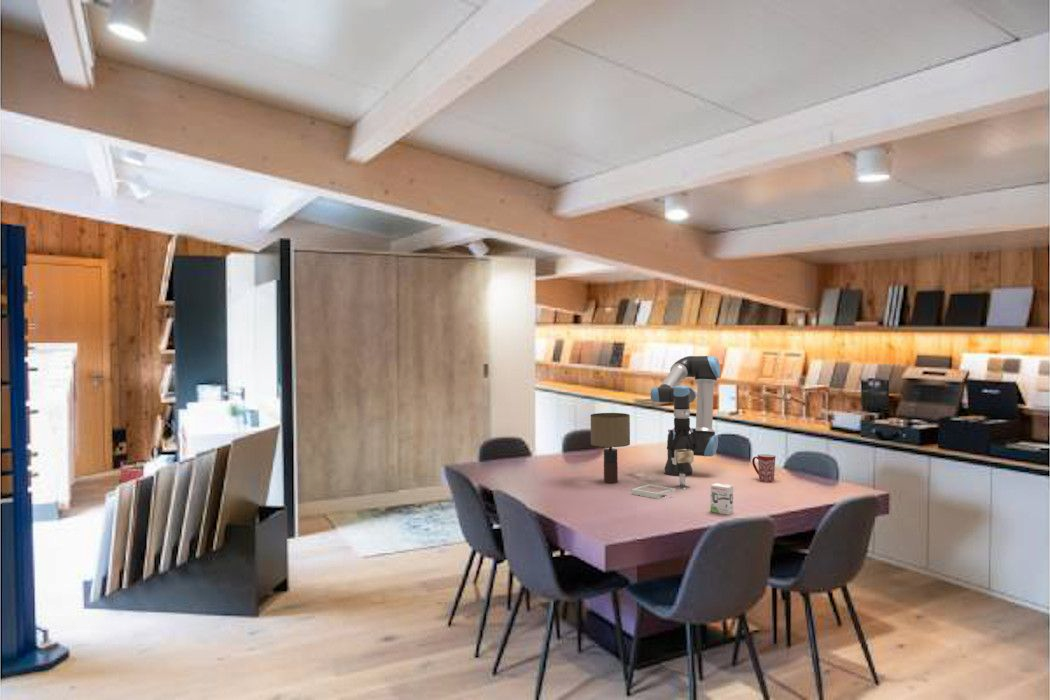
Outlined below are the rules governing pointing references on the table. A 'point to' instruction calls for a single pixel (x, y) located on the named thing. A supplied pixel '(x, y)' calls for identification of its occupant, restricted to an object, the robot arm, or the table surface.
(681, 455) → the tan wooden frame
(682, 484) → the grey glass rounded piece
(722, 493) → the ink box
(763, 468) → the mug
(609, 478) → the lamp
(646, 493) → the tray
